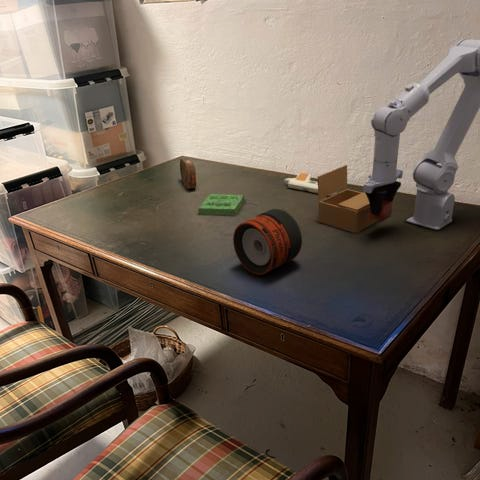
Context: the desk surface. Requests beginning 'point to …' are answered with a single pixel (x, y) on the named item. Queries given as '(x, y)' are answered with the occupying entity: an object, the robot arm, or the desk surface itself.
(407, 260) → the desk surface
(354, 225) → the carton
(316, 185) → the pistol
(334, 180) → the flap
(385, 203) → the block
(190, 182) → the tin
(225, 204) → the carved green slab
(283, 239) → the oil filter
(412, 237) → the desk surface
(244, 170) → the desk surface
